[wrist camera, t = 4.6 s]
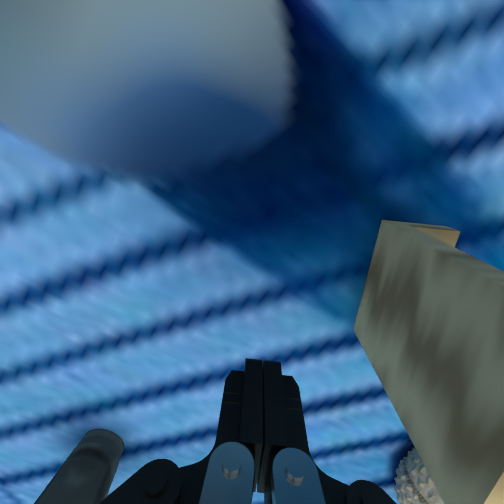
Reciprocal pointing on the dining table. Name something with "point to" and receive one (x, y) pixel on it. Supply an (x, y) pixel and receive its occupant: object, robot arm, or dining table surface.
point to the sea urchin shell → (415, 482)
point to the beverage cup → (86, 471)
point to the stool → (440, 354)
